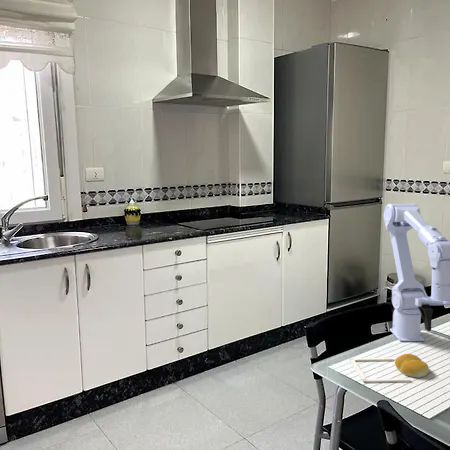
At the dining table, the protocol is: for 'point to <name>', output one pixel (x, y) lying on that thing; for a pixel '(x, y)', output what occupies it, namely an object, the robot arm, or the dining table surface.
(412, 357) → the bread roll
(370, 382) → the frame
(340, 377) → the dining table surface
